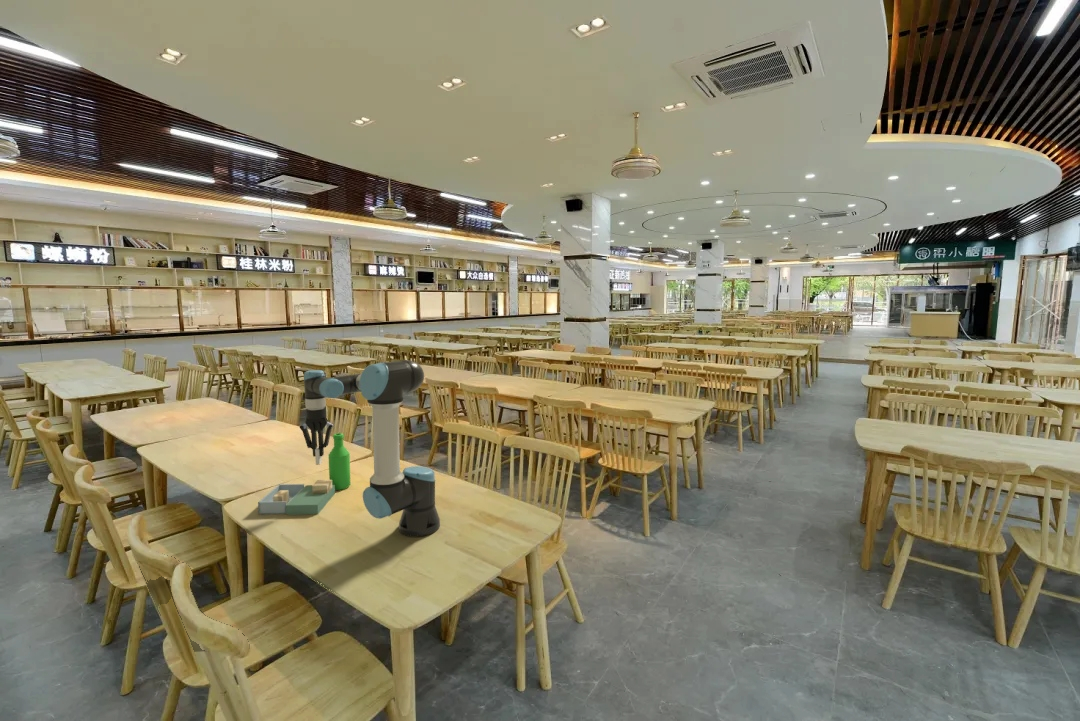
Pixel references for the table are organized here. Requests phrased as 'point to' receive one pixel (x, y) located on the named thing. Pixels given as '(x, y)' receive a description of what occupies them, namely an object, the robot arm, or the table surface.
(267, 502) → the tray
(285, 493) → the tile
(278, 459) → the table surface
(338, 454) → the bottle
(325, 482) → the wooden block stack
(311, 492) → the board
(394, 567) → the table surface
